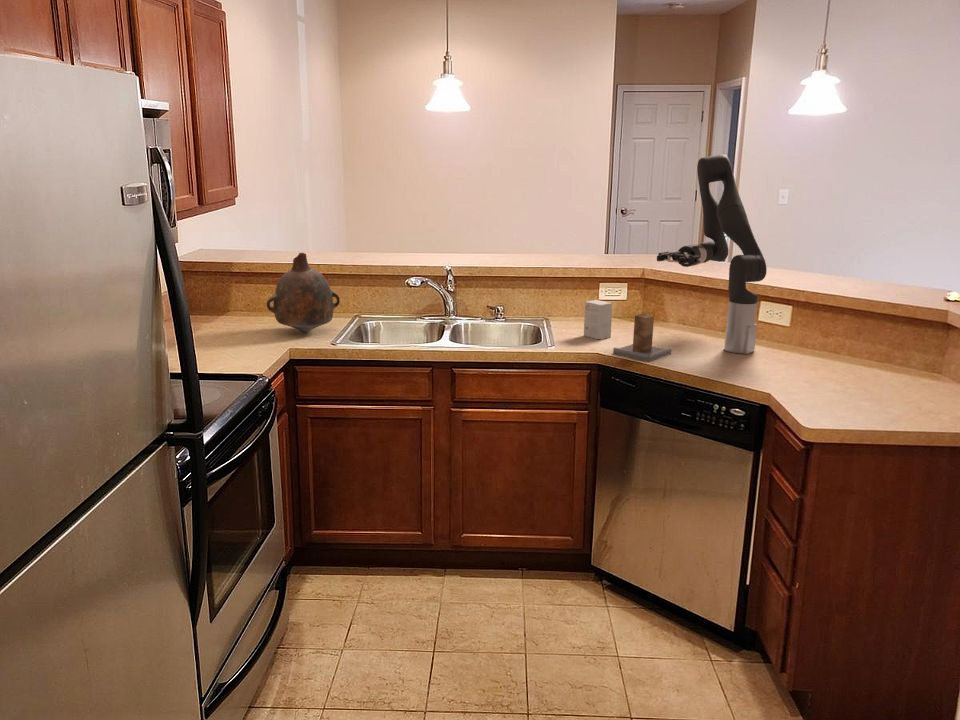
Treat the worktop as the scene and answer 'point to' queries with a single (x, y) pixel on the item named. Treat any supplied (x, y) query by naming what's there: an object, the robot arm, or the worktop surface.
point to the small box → (598, 319)
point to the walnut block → (643, 333)
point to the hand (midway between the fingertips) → (668, 259)
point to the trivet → (645, 356)
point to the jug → (303, 297)
